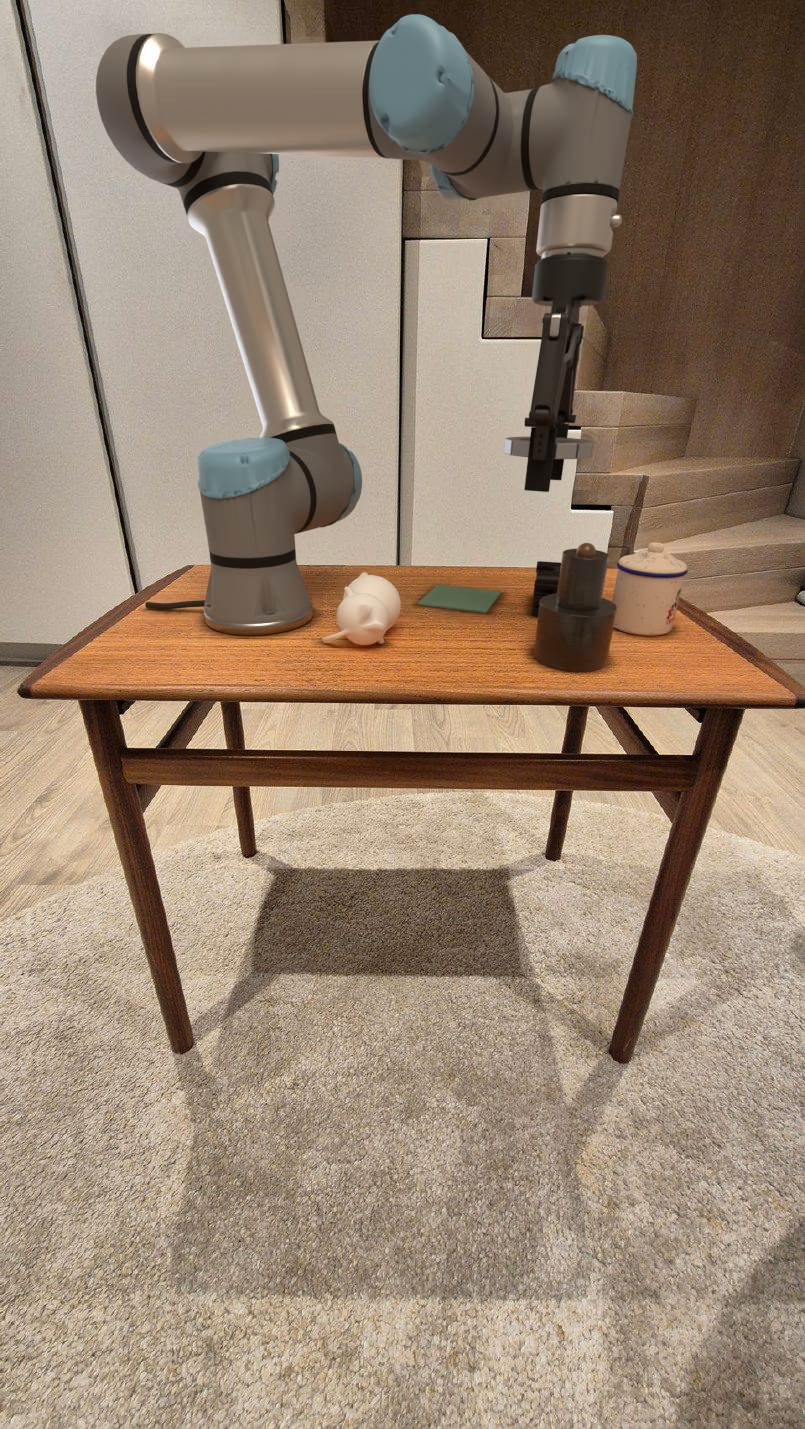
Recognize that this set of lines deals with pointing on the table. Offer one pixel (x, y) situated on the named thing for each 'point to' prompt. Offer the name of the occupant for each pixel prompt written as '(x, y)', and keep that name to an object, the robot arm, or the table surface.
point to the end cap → (545, 582)
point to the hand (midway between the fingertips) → (543, 484)
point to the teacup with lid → (648, 591)
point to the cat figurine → (367, 610)
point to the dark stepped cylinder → (576, 615)
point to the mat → (460, 598)
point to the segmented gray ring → (563, 447)
